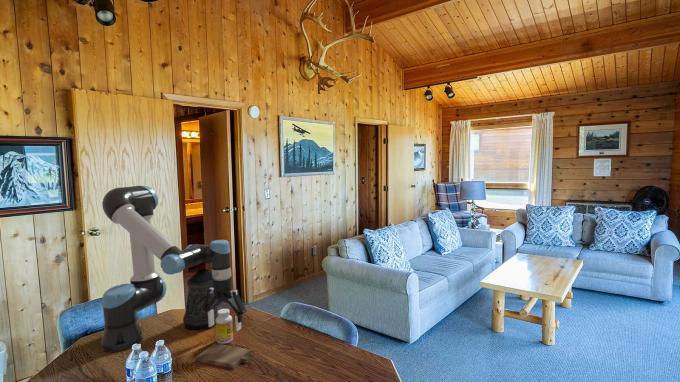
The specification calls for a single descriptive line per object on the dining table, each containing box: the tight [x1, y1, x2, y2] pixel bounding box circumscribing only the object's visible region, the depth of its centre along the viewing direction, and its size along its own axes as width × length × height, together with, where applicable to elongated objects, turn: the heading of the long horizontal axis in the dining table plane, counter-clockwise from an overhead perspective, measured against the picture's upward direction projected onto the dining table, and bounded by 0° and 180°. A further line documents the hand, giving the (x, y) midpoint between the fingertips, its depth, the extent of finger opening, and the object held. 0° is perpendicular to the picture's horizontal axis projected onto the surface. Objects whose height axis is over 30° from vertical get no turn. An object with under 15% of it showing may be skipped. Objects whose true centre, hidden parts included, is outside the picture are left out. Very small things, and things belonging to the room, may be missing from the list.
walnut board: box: [195, 342, 252, 369], centre depth 140 cm, size 19×11×2 cm, turn 70°
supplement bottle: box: [215, 308, 234, 345], centre depth 153 cm, size 7×7×13 cm
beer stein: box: [182, 268, 224, 332], centre depth 171 cm, size 16×19×25 cm
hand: (224, 327), depth 153 cm, fingers open, 13 cm apart
